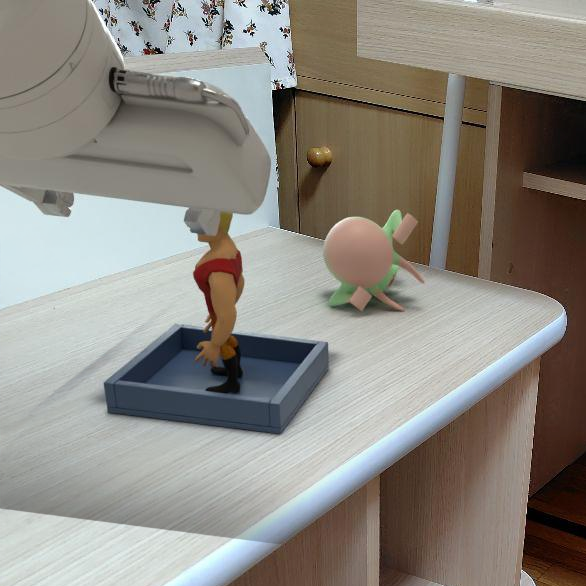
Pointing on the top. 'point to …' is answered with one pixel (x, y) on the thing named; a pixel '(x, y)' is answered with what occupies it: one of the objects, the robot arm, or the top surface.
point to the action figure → (221, 303)
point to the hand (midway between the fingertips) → (134, 215)
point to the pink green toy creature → (366, 258)
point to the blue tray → (219, 380)
